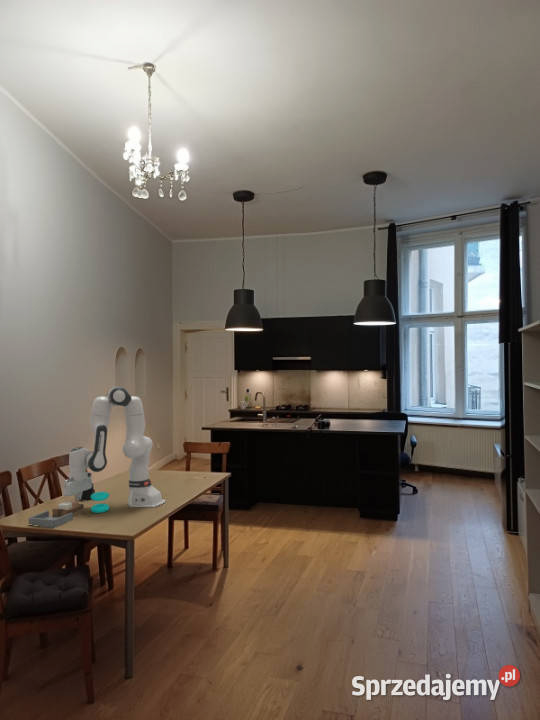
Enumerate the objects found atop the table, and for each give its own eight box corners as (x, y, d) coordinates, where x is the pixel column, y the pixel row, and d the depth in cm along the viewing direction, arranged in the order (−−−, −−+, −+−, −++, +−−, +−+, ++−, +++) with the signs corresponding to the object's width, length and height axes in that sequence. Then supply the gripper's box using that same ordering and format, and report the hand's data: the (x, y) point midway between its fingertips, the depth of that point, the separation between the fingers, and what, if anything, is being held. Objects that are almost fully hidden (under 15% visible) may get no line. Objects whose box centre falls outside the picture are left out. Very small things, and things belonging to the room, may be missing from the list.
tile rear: (78, 504, 294) (78, 500, 294) (72, 506, 289) (72, 502, 289) (71, 503, 295) (71, 499, 295) (65, 505, 291) (65, 501, 291)
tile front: (72, 506, 289) (72, 502, 289) (65, 509, 284) (65, 505, 284) (64, 506, 290) (64, 502, 290) (58, 508, 286) (58, 504, 286)
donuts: (97, 490, 303) (112, 491, 300) (97, 508, 303) (112, 509, 300) (86, 495, 293) (102, 496, 290) (87, 513, 293) (102, 514, 290)
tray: (72, 520, 280) (72, 512, 280) (54, 528, 267) (53, 520, 267) (47, 517, 286) (47, 510, 286) (28, 525, 273) (28, 517, 273)
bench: (83, 513, 293) (83, 504, 293) (68, 519, 282) (68, 510, 282) (67, 511, 297) (67, 502, 297) (52, 517, 285) (52, 508, 285)
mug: (89, 501, 317) (89, 487, 317) (74, 500, 322) (73, 485, 322) (100, 497, 326) (99, 483, 326) (84, 496, 330) (84, 482, 330)
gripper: (69, 480, 286) (69, 505, 286) (93, 472, 306) (94, 496, 306) (60, 479, 289) (60, 504, 289) (84, 472, 308) (85, 495, 308)
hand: (78, 500), depth 297 cm, fingers closed
